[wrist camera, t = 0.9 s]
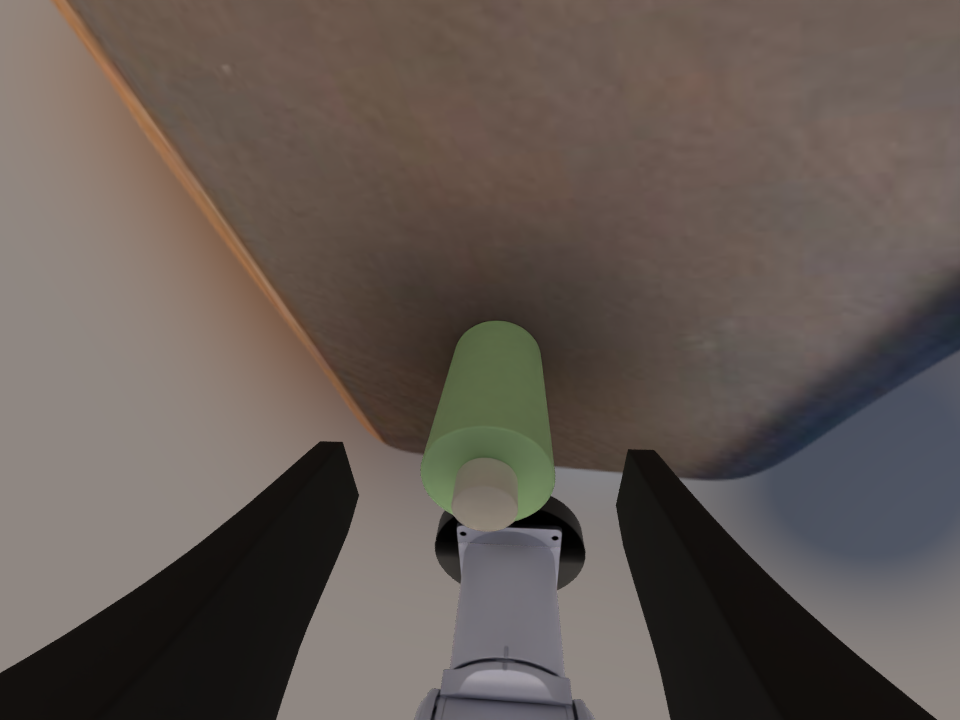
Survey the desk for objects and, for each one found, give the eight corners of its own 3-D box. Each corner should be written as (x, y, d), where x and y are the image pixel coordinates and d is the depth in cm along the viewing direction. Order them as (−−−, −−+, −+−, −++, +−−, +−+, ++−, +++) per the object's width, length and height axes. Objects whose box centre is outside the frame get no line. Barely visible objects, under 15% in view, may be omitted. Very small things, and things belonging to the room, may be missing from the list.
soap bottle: (539, 396, 20) (554, 559, 12) (457, 395, 21) (420, 553, 13) (542, 319, 18) (564, 457, 10) (451, 320, 18) (401, 452, 10)
